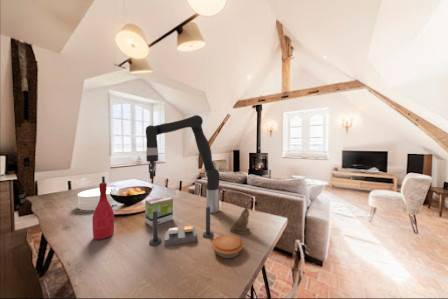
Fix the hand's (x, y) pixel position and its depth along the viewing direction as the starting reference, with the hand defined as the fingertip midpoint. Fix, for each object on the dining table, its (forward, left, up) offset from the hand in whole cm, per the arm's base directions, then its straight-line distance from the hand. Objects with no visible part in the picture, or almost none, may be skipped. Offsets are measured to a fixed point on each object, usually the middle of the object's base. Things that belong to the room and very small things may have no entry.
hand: (152, 177), depth 116 cm
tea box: (-5, +6, -29) cm, 30 cm away
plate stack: (+49, -40, -29) cm, 69 cm away
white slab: (-15, +32, -24) cm, 42 cm away
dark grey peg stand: (-34, +32, -29) cm, 54 cm away
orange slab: (-23, +32, -24) cm, 46 cm away
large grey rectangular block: (-19, +32, -29) cm, 47 cm away
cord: (-6, +32, -29) cm, 43 cm away
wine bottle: (+23, +18, -29) cm, 41 cm away
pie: (-41, +48, -29) cm, 69 cm away
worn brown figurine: (-53, +33, -29) cm, 68 cm away
